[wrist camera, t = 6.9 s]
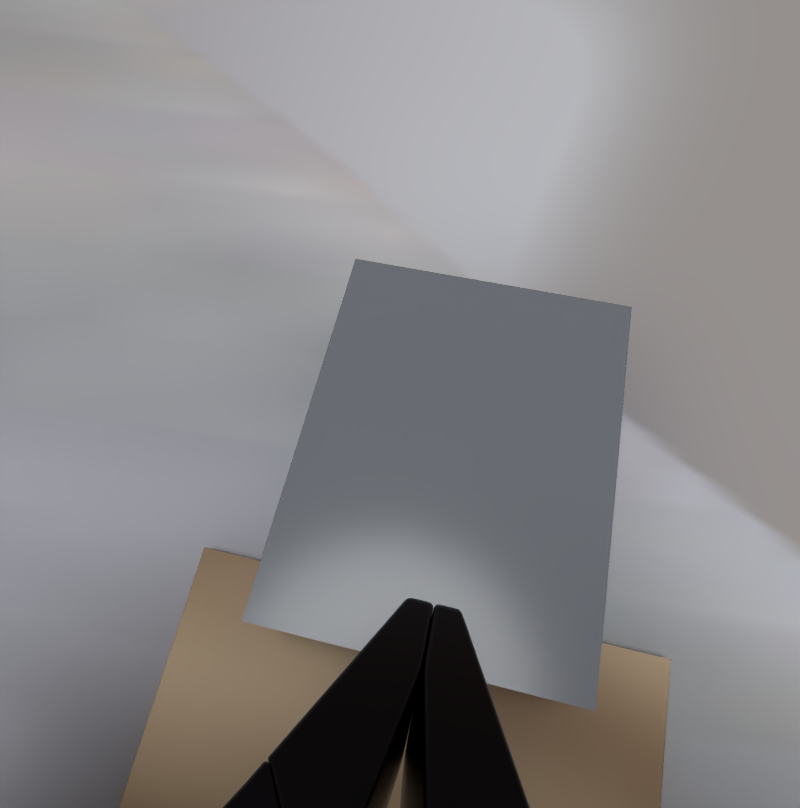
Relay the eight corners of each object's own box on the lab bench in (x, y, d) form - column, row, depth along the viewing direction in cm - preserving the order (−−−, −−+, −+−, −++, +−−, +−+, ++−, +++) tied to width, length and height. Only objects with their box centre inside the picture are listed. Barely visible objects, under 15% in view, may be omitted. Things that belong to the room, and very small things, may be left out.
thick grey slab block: (595, 711, 11) (631, 307, 14) (241, 621, 12) (355, 259, 15) (557, 697, 14) (595, 365, 17) (276, 626, 14) (365, 322, 18)
